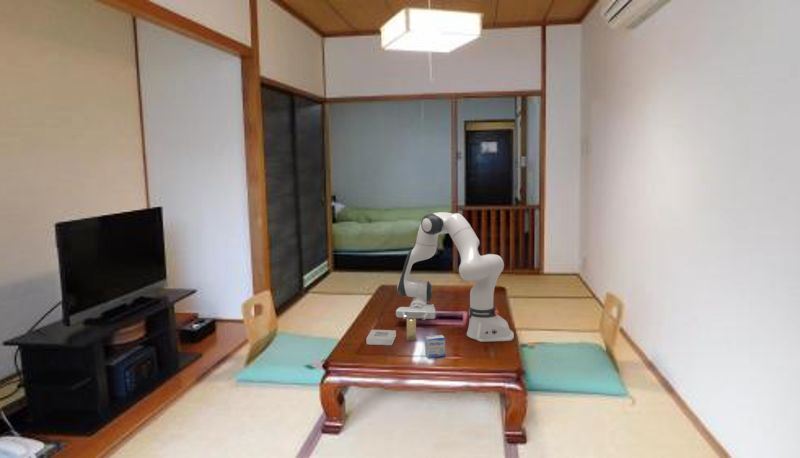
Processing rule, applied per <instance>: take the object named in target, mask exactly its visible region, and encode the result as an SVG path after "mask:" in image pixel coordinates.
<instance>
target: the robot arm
mask: <svg viewBox="0 0 800 458" xmlns="http://www.w3.org/2000/svg"><path fill="white" fill-rule="evenodd" d="M444 234H449V236H450V239H452V242H453V244H454V246H456V249H457V251H458V253H459V257H460V264H459V267H458V272H459V276H460V277H461V278H462V279H463V281H465V282H475V283H474V285H473V286H472V287H471V289H470V293H469V296H470V297H469V308H468V317H469V321H468V327H467V331H466V336H467V337H468V338H470V339H473V340H476V341H478V342H481V343H482V342H484V343H485V342H511V341H513V340H514V339H515V336H514V335H515V334H514V331H513V330H512V329H510V327H509V324H508V321H507V320H506V319H504V318H503V317H502V316H500V315H499V310H498V308H497V307H495V306H494V294H495V287H496V285H497V280H498V278H499V276H500V275H501V274H502V272H503V271H504V267H505V264H504V260H503V258H502V257H501V256H500V255H498V254H496V253H495V254H493V253H487V254H483V255H480V252H479V249H478V248H479V246H480V239H479V238H478V236H477V235H476V232H475V231H474V229H473V228H472V226H471V224H470V223H469V222H468V220H467V219H466V218H465V217H464V216H463V215H462V213H458V212H453V211H447V212H445V211H442V212H441V211H439V212H433V213H428V214H426V215H424V216H423V217H422V218H421V221H420V225H419V227H418V231H417V235H416V241H415V245H414V247H413V248H412V249H410V250H409V251H408V254H407V256H406V258H405V261H404V265H403V269H402V272H401V275H400V279H399V280H398V282H397V285H396V288H397V289H396V292H397V293H398V294H399V295H400V296H401V297H410V298H413V299H412V300H411V303H410V304H409V306H400V307H399V306H398V308H397V309H396V310H395V317H396V318H400V319H401V318H402V319H403V320H407V318H416V319H421V320H423V321H425V320H426V319H427V320H429V319H431V320H434V319H436V308H435V305H434V303H429V302H430V301H431V299H432V294H433V286H432V284H431V282H430V281H428V280H424V279H423V280H422V279H415V278H410V273H411V270H412V266H413V265H414V264H415V263H418V262H421V261H425V260H428V259H430V258H432V257H434V255H435V254H436V251H437V248H438V241H439V239H438V238H439V236H440V235H444Z"/></svg>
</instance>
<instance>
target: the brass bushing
mask: <svg viewBox="0 0 800 458" xmlns="http://www.w3.org/2000/svg"><path fill="white" fill-rule="evenodd" d="M416 340H417V318H407V319H406V341H409V342H412V341H413V342H414V341H416Z"/></svg>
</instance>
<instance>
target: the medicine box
mask: <svg viewBox="0 0 800 458" xmlns="http://www.w3.org/2000/svg"><path fill="white" fill-rule="evenodd" d="M424 347H425V348H424V352H425V354H424V355H425V356H426V357H427V358H428V359H433V357H435V358H442V357H446V338H445V336H444V335H442V334H436V335H428V336H424ZM441 356H442V357H441Z"/></svg>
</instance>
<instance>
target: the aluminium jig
mask: <svg viewBox="0 0 800 458" xmlns="http://www.w3.org/2000/svg"><path fill="white" fill-rule="evenodd" d="M396 336H397V330H396V329H395V330H390V329H371V330H370V332H369V333H368V335H367V337H366V339H365V340H366V345H369V346H370V345H371V346H372V345H373V346H376V345H377V346H393V343H394V341H395V339H396Z"/></svg>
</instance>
